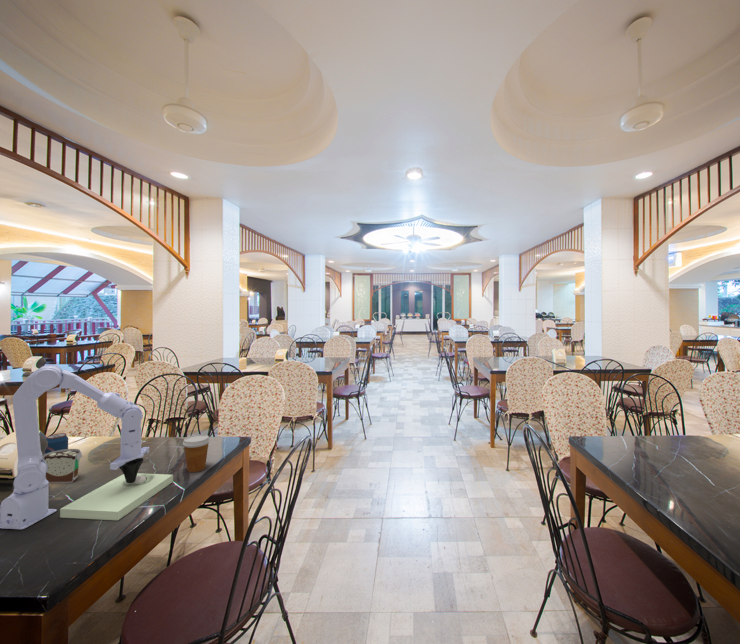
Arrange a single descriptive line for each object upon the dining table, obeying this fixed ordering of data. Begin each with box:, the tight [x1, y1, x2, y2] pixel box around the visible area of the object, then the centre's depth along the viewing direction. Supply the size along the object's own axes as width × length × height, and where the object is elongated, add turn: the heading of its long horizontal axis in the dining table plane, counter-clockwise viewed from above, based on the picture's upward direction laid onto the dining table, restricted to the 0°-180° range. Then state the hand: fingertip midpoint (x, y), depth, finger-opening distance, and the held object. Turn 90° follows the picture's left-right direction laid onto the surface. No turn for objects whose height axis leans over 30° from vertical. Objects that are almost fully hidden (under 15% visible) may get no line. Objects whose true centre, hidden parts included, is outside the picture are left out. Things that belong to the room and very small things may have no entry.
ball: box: [132, 475, 146, 484], centre depth 117 cm, size 4×4×4 cm
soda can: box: [43, 432, 69, 455], centre depth 134 cm, size 7×7×12 cm
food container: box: [42, 448, 83, 484], centre depth 123 cm, size 12×6×10 cm, turn 92°
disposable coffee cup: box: [182, 434, 211, 473], centre depth 132 cm, size 10×10×12 cm
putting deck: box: [59, 472, 174, 521], centre depth 110 cm, size 24×18×2 cm
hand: (130, 482), depth 113 cm, fingers closed
